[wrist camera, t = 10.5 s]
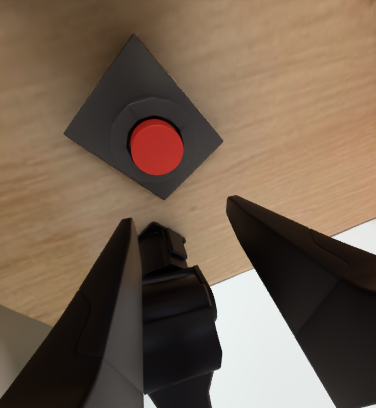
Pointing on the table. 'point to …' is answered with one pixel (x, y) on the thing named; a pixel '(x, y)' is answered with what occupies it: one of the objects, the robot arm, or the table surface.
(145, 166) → the button
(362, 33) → the table surface
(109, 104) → the switch block
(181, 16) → the table surface
